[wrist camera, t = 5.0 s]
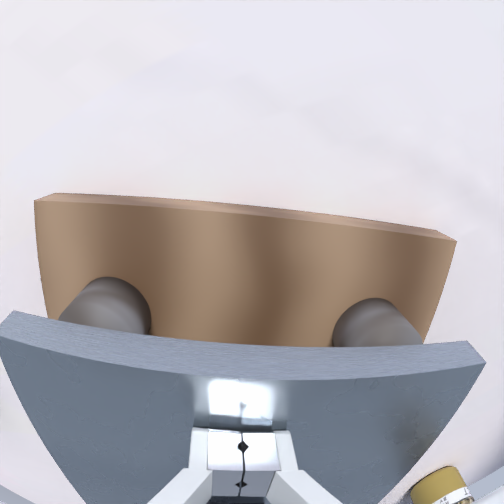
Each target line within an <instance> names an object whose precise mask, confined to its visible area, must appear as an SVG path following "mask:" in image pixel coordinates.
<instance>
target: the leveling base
mask: <svg viewBox="0 0 504 504" xmlns="http://www.w3.org/2000/svg"><path fill="white" fill-rule="evenodd" d="M34 213H35V229H36V241H37V251H38V260H39V268H40V275H41V282H42V288H43V294H44V300H45V305H46V310H47V315H48V318H50V319H54V320H59V321H64V322H69V323H75V324H80V325H86V326H91V327H97V328H103V329H109V330H116V331H122V332H129V333H136V334H143V335H151V336H159V337H167V338H176V339H186V340H196V341H206V342H218V343H231V344H246V345H265V346H290V347H380V346H404V345H421V344H423V342H424V340H425V337H426V335H427V332H428V330H429V327H430V325H431V322H432V319H433V317H434V314H435V311H436V308H437V306H438V303H439V300H440V297H441V294H442V291H443V288H444V285H445V282H446V278H447V275H448V272H449V268H450V265H451V261H452V258H453V254H454V250H455V247H456V243H457V241H456V240H454V239H452V238H450V237H448V236H446V235H444V234H442V233H440V232H438V231H436V230H431V229H425V228H419V227H413V226H407V225H400V224H394V223H387V222H380V221H373V220H366V219H359V218H352V217H344V216H337V215H329V214H321V213H313V212H305V211H296V210H287V209H278V208H269V207H259V206H249V205H239V204H228V203H217V202H206V201H193V200H180V199H167V198H152V197H135V196H117V195H96V194H70V193H54V194H51V195H48V196H45V197H42V198H40V199H37V200H34Z"/></svg>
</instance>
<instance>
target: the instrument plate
mask: <svg viewBox="0 0 504 504" xmlns="http://www.w3.org/2000/svg"><path fill="white" fill-rule="evenodd" d="M0 357H1V359H2V362H3V364H4V367H5V369H6V371H7V374H8V376H9V378H10V381H11V383H12V385H13V387H14V389H15V391H16V393H17V396H18V398H19V400H20V402H21V404H22V406H23V408H24V409H25V411H26V413H27V415H28V417H29V419H30V421H31V422H32V424H33V426H34V428H35V430H36V431H37V433H38V435H39V436H40V438H41V440H42V441H43V443H44V445H45V446H46V448H47V450H48V451H49V453H50V454H51V456H52V457H53V459H54V460H55V462H56V463H57V465H58V466H59V468H60V469H61V471H62V472H63V473H64V475H65V476H66V478H67V479H68V480H69V482H70V483H71V484H72V486H73V487H74V488H75V490H76V491H77V492H78V494H79V495H80V496H81V497H82V499H83V500H84V501H85V502H86V504H147V503H148V502H149V501H150V500H151V499H152V498H153V497H154V496H155V495H157V494H158V493H159V492H160V491H161V490H162V489H163V488H164V487H165V486H166V485H167V484H168V483H169V482H170V481H171V480H172V479H173V478H174V477H175V476H176V475H177V474H178V473H179V472H180V471H181V470H182V469H183V468H188V466H189V454H190V443H191V432H192V428H193V427H196V428H207V429H219V430H232V431H241V432H242V430H243V431H270V430H272V431H287V430H288V431H289V432H290V433H291V437H292V442H293V447H294V451H295V456H296V461H297V465H298V470H304V471H305V472H306V473H307V474H308V475H309V476H311V477H312V478H313V479H314V480H315V481H316V482H317V483H319V484H320V485H321V486H322V487H323V488H324V489H326V490H327V491H328V492H329V493H330V494H331V495H333V496H334V497H335V498H336V499H337V500H339V501H340V502H341V503H342V504H377V503H378V502H380V501H381V500H382V499H383V498H384V497H385V496H386V495H387V494H388V493H389V492H390V491H391V490H392V489H393V488H394V487H395V486H396V485H397V484H398V483H399V481H400V480H401V479H402V478H403V477H404V476H405V475H406V474H407V473H408V472H409V471H410V470H411V468H412V467H413V466H414V465H415V464H416V463H417V462H418V460H419V459H420V458H421V457H422V456H423V454H424V453H425V452H426V451H427V450H428V448H429V447H430V446H431V445H432V443H433V442H434V441H435V440H436V438H437V437H438V436H439V434H440V433H441V432H442V430H443V429H444V428H445V426H446V425H447V424H448V422H449V421H450V419H451V418H452V417H453V415H454V414H455V412H456V411H457V409H458V408H459V406H460V405H461V403H462V402H463V400H464V399H465V397H466V396H467V394H468V393H469V391H470V390H471V388H472V386H473V385H474V383H475V381H476V380H477V378H478V376H479V375H480V373H481V371H482V369H483V368H484V366H485V364H486V361H485V360H484V359H483V358H482V357H481V356H480V355H479V353H478V352H477V351H476V350H475V349H474V348H473V347H472V346H471V345H470V343H469V342H468V341H458V342H447V343H435V344H421V345H404V346H380V347H290V346H265V345H246V344H231V343H218V342H206V341H196V340H186V339H176V338H167V337H159V336H151V335H143V334H136V333H129V332H122V331H116V330H109V329H103V328H97V327H91V326H86V325H80V324H75V323H69V322H64V321H59V320H54V319H50V318H45V317H40V316H36V315H31V314H27V313H23V312H18V311H13V312H12V313H11V314H10V315H9V316H8V317H7V318H6V319H5V320H4V321H3V322H2V323H1V324H0ZM208 438H209V433H208ZM206 504H271V503H270V502H269V501H268V500H267V498H266V497H250V496H240V491H239V493H238V496H211V498H210V499H209V501H208V502H207V503H206Z"/></svg>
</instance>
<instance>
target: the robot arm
mask: <svg viewBox="0 0 504 504" xmlns="http://www.w3.org/2000/svg"><path fill="white" fill-rule="evenodd" d="M208 433H209V438H208ZM239 491H240V496H250V497H266V498H267V500H268V501H269V502H270V503H271V504H342V503H341V502H340V501H339V500H337V499H336V498H335V497H334V496H333V495H331V494H330V493H329V492H328V491H327V490H326V489H324V488H323V487H322V486H321V485H320V484H319V483H317V482H316V481H315V480H314V479H313V478H312V477H311V476H309V475H308V474H307V473H306V472H305V471H304V470H298V465H297V461H296V456H295V451H294V447H293V442H292V437H291V433H290V432H289V431H288V430H287V431H272V430H270V431H243V430H242V432H241V431H232V430H219V429H207V428H196V427H193V428H192V432H191V443H190V454H189V466H188V468H183V469H182V470H181V471H180V472H179V473H178V474H177V475H176V476H175V477H174V478H173V479H172V480H171V481H170V482H169V483H168V484H167V485H166V486H165V487H164V488H163V489H162V490H161V491H160V492H159V493H158V494H157V495H155V496H154V497H153V498H152V499H151V500H150V501H149V502H148V503H147V504H206V503H207V502H208V501H209V499H210V498H211V496H238V493H239ZM0 504H6V503H4V502H2V501H1V500H0ZM470 504H504V485H502V486H501V487H499V488H498V489H496V490H494V491H492V492H491V493H489V494H487V495H485V496H483V497H482V498H480V499H478V500H476V501H474V502H472V503H470Z"/></svg>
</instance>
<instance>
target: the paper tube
mask: <svg viewBox="0 0 504 504" xmlns="http://www.w3.org/2000/svg"><path fill="white" fill-rule="evenodd" d="M410 496H411V499H412V501H413V504H470V503H472V502H474V499H473V497H472V495H471V493H470V491H469V489H468V487H467V486H466V484H465V482H464V481H463V479H462V477H461V475H460V473H459V472H458V470H457V468H456V467H453V466H449V467H445V468H442V469H440V470H437V471H435V472H434V473H432V474H430V475H428V476H427V477H425V478H424V479H422V480H421V481H420V482H419V483H417V484H416V485H415V486H414V487H413V489H412V490H411V493H410Z"/></svg>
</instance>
